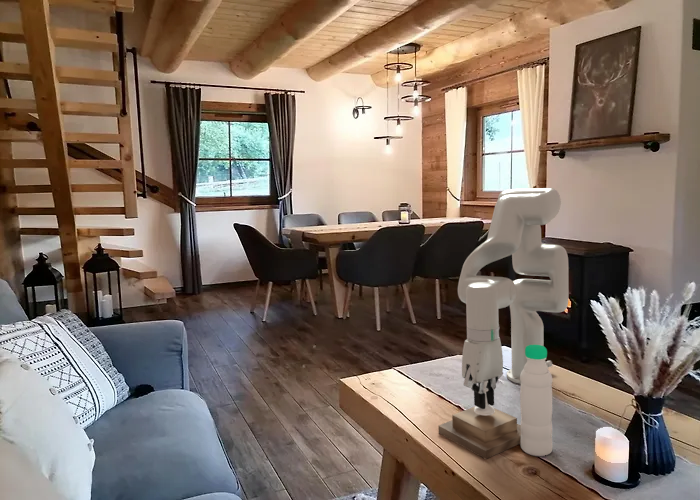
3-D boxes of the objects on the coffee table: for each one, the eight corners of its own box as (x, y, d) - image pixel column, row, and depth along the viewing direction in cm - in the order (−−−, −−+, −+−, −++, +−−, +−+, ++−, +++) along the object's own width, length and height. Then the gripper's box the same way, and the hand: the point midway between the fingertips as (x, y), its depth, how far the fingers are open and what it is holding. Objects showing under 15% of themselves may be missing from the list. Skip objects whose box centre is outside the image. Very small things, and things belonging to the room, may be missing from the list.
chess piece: (495, 416, 129) (494, 376, 127) (474, 415, 130) (473, 376, 128) (494, 407, 134) (493, 369, 132) (473, 406, 135) (473, 368, 133)
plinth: (483, 415, 143) (483, 397, 143) (532, 438, 130) (532, 418, 129) (438, 432, 135) (438, 414, 134) (485, 459, 121) (485, 438, 121)
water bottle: (559, 454, 122) (559, 349, 119) (532, 460, 120) (532, 353, 117) (539, 440, 129) (539, 340, 125) (514, 445, 127) (513, 344, 123)
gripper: (494, 324, 136) (495, 392, 139) (447, 336, 128) (449, 409, 130) (517, 330, 130) (518, 401, 133) (470, 344, 122) (471, 420, 124)
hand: (484, 404), depth 132 cm, fingers closed on chess piece
